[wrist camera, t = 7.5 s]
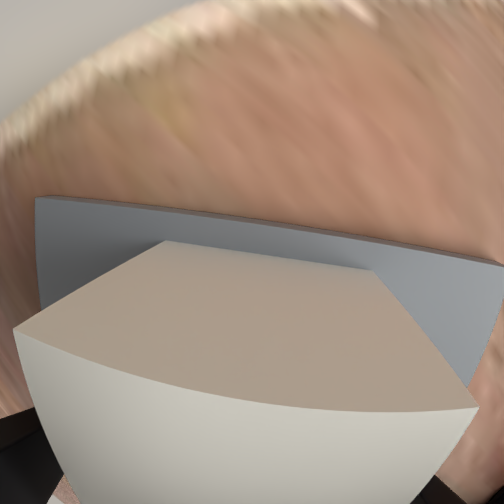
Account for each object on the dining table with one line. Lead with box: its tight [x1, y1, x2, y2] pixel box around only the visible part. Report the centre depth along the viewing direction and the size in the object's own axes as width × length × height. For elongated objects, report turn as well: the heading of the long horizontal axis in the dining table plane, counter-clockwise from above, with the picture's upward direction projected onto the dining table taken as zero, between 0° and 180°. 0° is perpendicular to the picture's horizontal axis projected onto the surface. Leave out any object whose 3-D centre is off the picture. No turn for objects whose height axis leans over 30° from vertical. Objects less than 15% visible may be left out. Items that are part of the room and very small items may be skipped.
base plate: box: [35, 195, 504, 388], centre depth 9 cm, size 17×11×4 cm, turn 83°
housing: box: [13, 240, 479, 504], centre depth 7 cm, size 10×6×6 cm, turn 173°
